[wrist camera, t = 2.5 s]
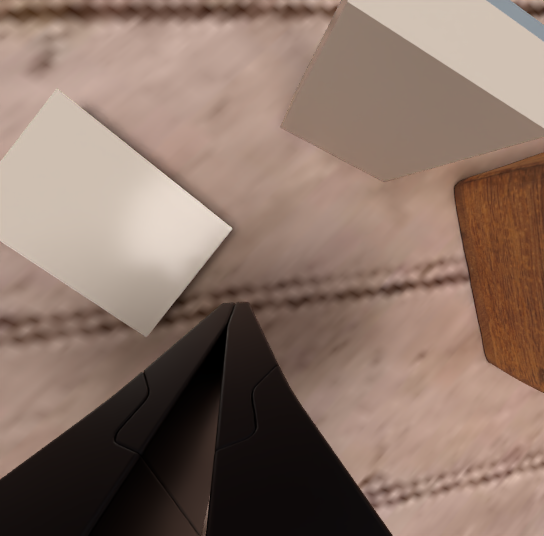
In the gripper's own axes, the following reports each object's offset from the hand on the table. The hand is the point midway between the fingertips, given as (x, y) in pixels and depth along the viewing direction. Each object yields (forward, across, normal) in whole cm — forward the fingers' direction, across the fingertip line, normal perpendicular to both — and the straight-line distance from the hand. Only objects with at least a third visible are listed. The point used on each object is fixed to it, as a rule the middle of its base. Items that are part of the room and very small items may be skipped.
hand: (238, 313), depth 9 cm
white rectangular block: (+14, +6, +2) cm, 16 cm away
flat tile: (+10, -8, -1) cm, 13 cm away
